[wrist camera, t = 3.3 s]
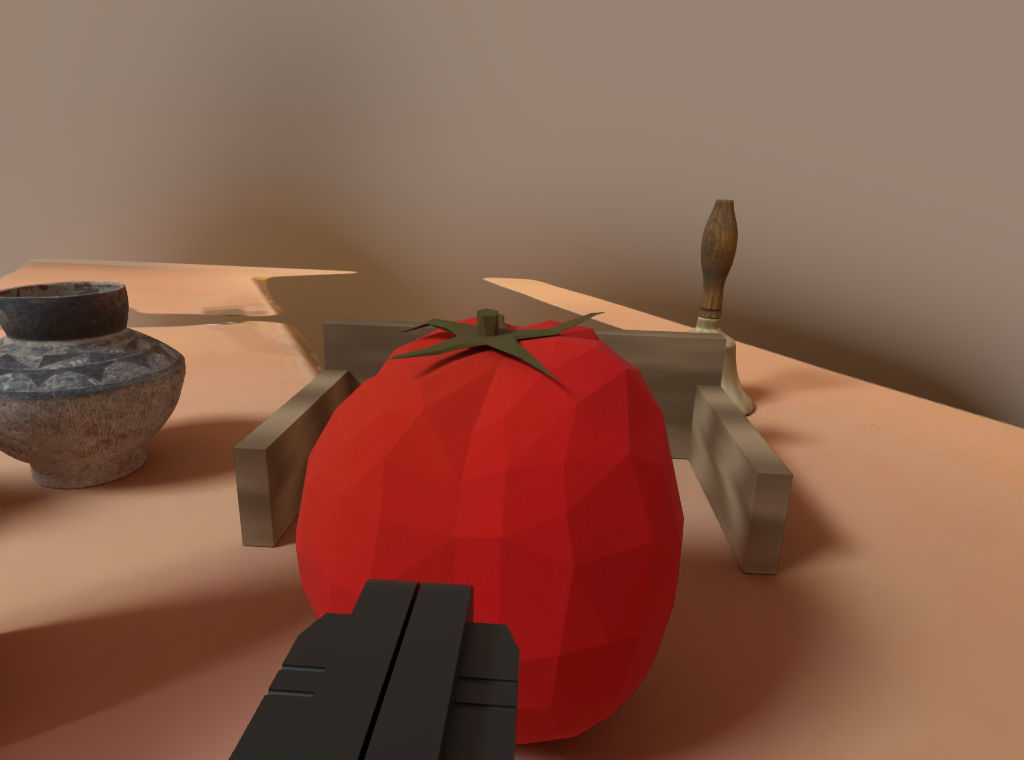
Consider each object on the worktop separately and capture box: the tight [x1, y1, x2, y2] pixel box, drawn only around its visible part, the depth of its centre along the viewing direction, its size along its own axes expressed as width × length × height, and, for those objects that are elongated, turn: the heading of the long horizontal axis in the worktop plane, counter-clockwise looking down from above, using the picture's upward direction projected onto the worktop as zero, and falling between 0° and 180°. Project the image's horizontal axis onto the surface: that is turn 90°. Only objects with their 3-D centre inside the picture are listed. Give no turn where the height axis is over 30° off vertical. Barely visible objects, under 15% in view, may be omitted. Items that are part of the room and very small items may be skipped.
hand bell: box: [689, 200, 754, 415], centre depth 52 cm, size 8×8×16 cm
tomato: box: [295, 309, 684, 744], centre depth 22 cm, size 13×13×13 cm
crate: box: [233, 319, 793, 575], centre depth 37 cm, size 14×25×8 cm, turn 87°
